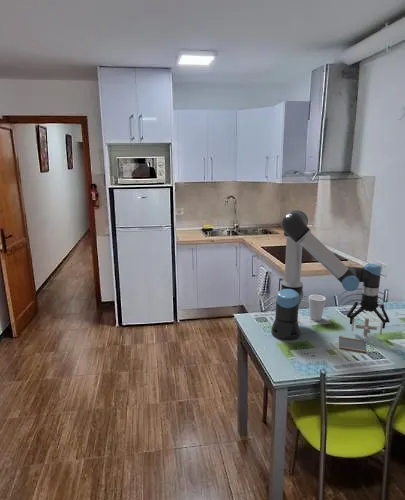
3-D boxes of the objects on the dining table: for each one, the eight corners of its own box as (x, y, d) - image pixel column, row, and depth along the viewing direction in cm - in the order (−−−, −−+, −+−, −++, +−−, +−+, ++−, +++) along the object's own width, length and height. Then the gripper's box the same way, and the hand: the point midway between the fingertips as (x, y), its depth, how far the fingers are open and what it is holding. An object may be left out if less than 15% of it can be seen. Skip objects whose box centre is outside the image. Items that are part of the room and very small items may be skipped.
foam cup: (326, 321, 204) (327, 300, 201) (310, 321, 205) (311, 300, 201) (320, 314, 214) (322, 294, 211) (305, 314, 214) (307, 294, 211)
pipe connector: (377, 341, 182) (380, 323, 179) (357, 339, 184) (359, 321, 181) (372, 332, 191) (374, 315, 189) (353, 330, 193) (355, 313, 191)
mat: (338, 348, 175) (339, 346, 174) (339, 337, 186) (339, 336, 185) (365, 353, 171) (365, 351, 170) (363, 341, 181) (364, 339, 181)
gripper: (344, 293, 183) (341, 331, 188) (398, 299, 174) (393, 338, 179) (344, 288, 190) (341, 325, 194) (396, 294, 181) (391, 332, 186)
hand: (366, 331), depth 187 cm, fingers open, 13 cm apart
